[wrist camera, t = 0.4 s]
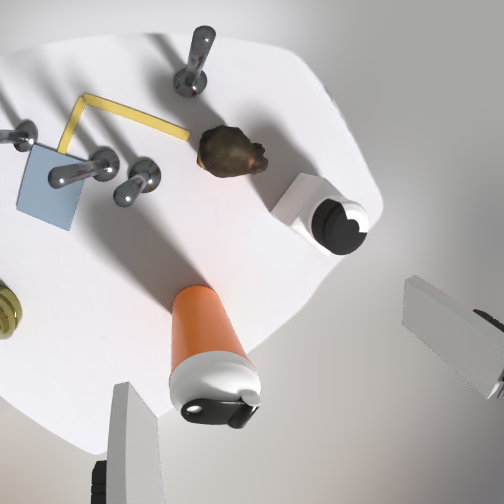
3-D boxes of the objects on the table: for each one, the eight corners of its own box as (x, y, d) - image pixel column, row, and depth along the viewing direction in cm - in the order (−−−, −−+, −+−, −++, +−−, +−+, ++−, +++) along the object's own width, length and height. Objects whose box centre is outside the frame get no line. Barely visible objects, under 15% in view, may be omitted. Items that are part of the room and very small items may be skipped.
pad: (18, 208, 29) (16, 209, 28) (35, 144, 27) (33, 144, 26) (69, 229, 32) (68, 231, 32) (90, 164, 30) (88, 164, 30)
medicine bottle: (304, 240, 42) (349, 273, 31) (268, 213, 39) (307, 239, 28) (333, 202, 41) (385, 222, 30) (299, 171, 38) (348, 182, 27)
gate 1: (11, 147, 26) (-63, 156, 11) (21, 119, 25) (-52, 112, 10) (113, 185, 32) (71, 212, 18) (124, 155, 31) (88, 159, 17)
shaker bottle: (173, 272, 38) (180, 377, 20) (234, 285, 41) (284, 384, 23) (161, 326, 40) (166, 438, 22) (218, 335, 43) (252, 441, 25)
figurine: (238, 124, 34) (269, 113, 23) (245, 166, 36) (278, 174, 25) (189, 133, 32) (196, 124, 22) (197, 176, 35) (208, 188, 24)
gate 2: (125, 185, 32) (90, 212, 18) (183, 63, 29) (193, 6, 15) (153, 196, 34) (139, 231, 20) (212, 75, 31) (241, 25, 16)
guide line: (57, 153, 28) (56, 153, 28) (82, 92, 27) (81, 92, 26) (163, 193, 34) (163, 193, 34) (190, 132, 32) (191, 132, 32)
